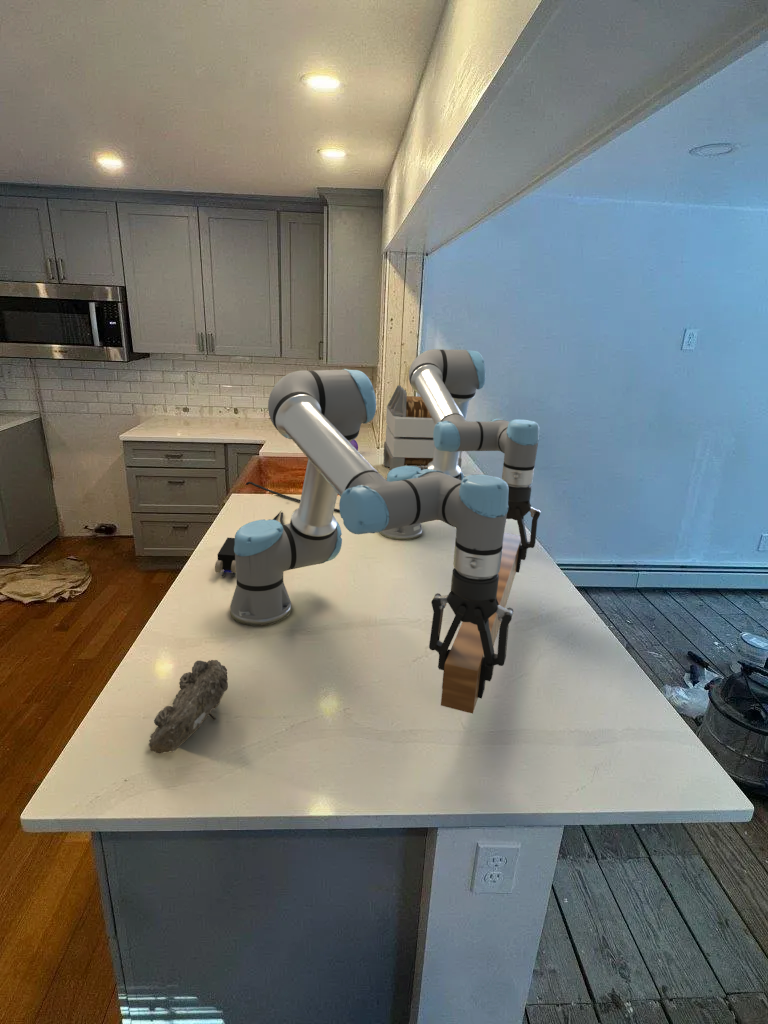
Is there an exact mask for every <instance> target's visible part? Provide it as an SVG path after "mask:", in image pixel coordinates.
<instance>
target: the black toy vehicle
mask: <svg viewBox="0 0 768 1024" xmlns="http://www.w3.org/2000/svg"><path fill="white" fill-rule="evenodd" d="M234 546H235V537H226V539H225V541H224V543H223V544H222V546H221V547H220V549H219V551H218V552H217V560H216V562H215V564H214V572H215V573H221V577H222V578H224V577H225V576H226V574H227V573H230V574H231V573H232V574H231V578H234V577H235V576H236V563H235V552H234Z"/></svg>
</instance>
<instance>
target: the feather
mask: <svg viewBox="0 0 768 1024" xmlns="http://www.w3.org/2000/svg"><path fill="white" fill-rule="evenodd" d="M281 512H283V511H282V510H280V512H279V513H277V514H276V516H275V517H273V519H272V520H276V521H277V520H278V518H279V516H280V515H281Z"/></svg>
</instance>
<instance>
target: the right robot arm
mask: <svg viewBox="0 0 768 1024" xmlns="http://www.w3.org/2000/svg"><path fill="white" fill-rule="evenodd" d="M486 376H487V371H486V363H485V360H484V357H483V356H482V354H481V352H479V351H478V350H469V349H440V348H433V349H432V348H431V349H428V350H425V351H423V352H421V353H420V354H419V355H417V356H416V357H415V358H414V360H413V361H412V363H411V364H410V367H409V370H408V381H409V384H410V386H411V388H412V390H413V391H414V392H415V393H416V394H419V397H421V398H422V400H423V402H424V404H425V406H426V408H427V409H428V411H429V413H430V415H431V417H432V419H433V421H434V423H435V427H434V432H433V439H434V445H435V449H434V456H433V461H432V462H430V463H429V464H428V466H426V469H432V470H436V471H442V472H443V473H446V474H448V475H450V476H452V477H454V478H457V479H459V480H461V481H462V479H463V478H465V475H464V473H463V472H462V468H461V469H460V467H459V466H458V459H459V454H460V451H462V452H501V453H503V455H504V456H503V463H502V471H501V472H502V473H501V479H503V480H504V481H505V482H506V483H507V484H508V487H509V494H508V507H509V508H508V512H507V517H506V520H514V521H516V523H517V526H518V532H519V535H520V538H521V545H520V547H519V552H518V560H517V567H516V573H520V569H521V565H522V561H525V560H526V558H527V553H528V549H534V548H535V547H536V540H537V530H538V529H537V528H538V520H539V517H540V516H541V513H542V510H541V508H535V507H533V506H532V504H531V497H532V489H533V487H532V484H533V482H534V481H533V480H534V474H535V466H536V459H537V453H538V446H539V441H540V425H539V423H538V422H536V421H534V420H530V419H529V420H528V419H512V420H510V421H509V420H507V419H504V418H503V419H502V418H494V419H491V420H490V421H479V420H478V421H477V420H476V421H471V420H470V421H467V415H468V409H469V403H470V401H471V400H472V399H474V398H475V397H476V393H477V390H481V389H483V388H484V385H485V384H486V379H487V377H486ZM421 470H422V469H421V467H420V466H407V465H404V466H401V467H397V468H394V469H392V470H390V469H389V470H388V472H387V475H386V480H387V481H389V482H392V481H399V480H407V479H411V478H412V477H413V476H414V475H416V474H417V473H418V472H419V471H421ZM249 485H252V486H253V487H256V488H258V489H261V490H263V491H266V492H267V493H270V494H273V495H276V496H279V497H282V498H284V499H288V500H291V501H293V502H297V503H300V500H301V499H300V498H295V497H292V496H289V495H286V494H282V493H280V492H277V491H275V490H272V489H269V488H266V487H264V486H262V485H259V484H256V483H254V482H252V481H247V482H246V483H245V486H249ZM334 512H336V513H340V510H339V509H338V508H334ZM528 513H530V517H531V519H532V520H531V526H530V527H531V528H530V536H529V538H530V539H529V541H528V537H527V530H526V524H525V516H526V515H527V514H528ZM379 534H380V535H381V536H382V537H385V538H387V539H389V540H395V541H410V540H415V539H418V538H420V537H421V536H422V535H423V525H422V523H419V524H414V525H408V526H403V527H399V528H394V529H389V530H385V531H381V532H379Z"/></svg>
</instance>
